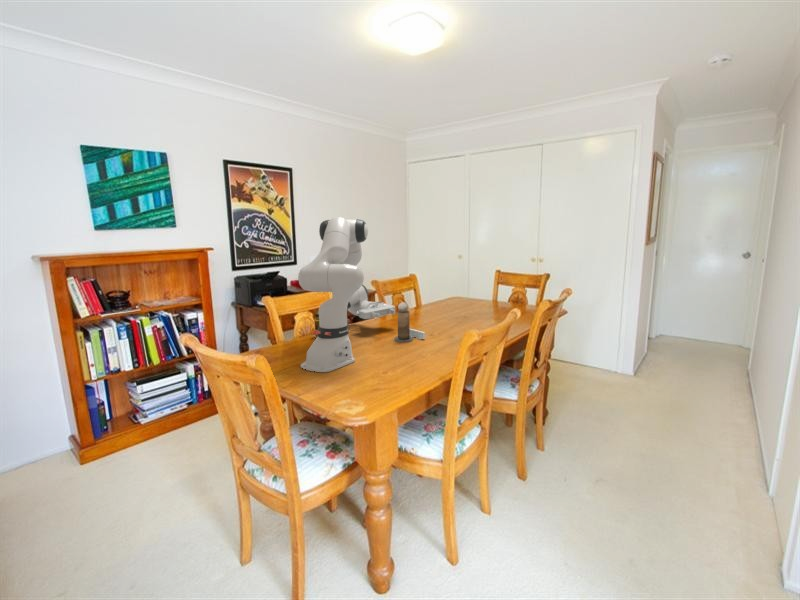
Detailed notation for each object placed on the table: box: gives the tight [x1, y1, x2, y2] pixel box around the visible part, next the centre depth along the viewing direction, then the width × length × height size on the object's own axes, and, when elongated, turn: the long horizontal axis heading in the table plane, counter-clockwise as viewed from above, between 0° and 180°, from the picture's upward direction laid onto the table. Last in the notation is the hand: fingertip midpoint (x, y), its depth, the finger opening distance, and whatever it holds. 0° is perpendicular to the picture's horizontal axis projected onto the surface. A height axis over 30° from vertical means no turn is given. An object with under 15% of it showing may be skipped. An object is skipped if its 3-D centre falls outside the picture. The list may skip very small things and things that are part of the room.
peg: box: [397, 301, 411, 340], centre depth 187 cm, size 6×6×18 cm
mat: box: [393, 336, 414, 343], centre depth 189 cm, size 9×9×1 cm
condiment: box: [314, 312, 320, 338], centre depth 195 cm, size 7×8×12 cm
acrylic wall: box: [410, 328, 426, 340], centre depth 193 cm, size 14×1×4 cm, turn 42°
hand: (387, 314), depth 195 cm, fingers open, 8 cm apart
